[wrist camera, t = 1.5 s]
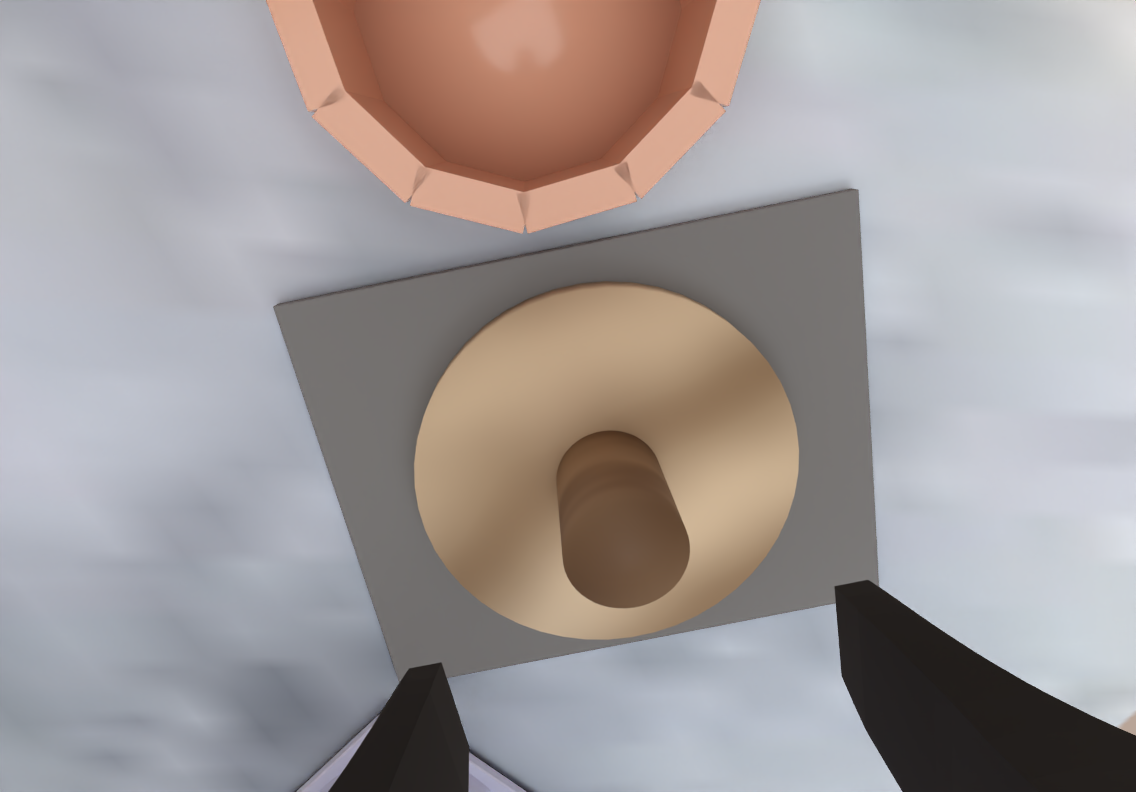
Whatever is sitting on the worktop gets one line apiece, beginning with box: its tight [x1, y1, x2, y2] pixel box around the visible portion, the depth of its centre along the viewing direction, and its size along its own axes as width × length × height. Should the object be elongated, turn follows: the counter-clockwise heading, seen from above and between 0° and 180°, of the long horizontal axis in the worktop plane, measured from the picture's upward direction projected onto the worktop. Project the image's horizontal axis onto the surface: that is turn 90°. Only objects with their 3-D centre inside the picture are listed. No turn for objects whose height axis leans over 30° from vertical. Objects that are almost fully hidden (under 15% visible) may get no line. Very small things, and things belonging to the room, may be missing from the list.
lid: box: [414, 281, 799, 640], centre depth 19 cm, size 11×11×5 cm
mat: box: [274, 189, 879, 683], centre depth 22 cm, size 13×16×1 cm
